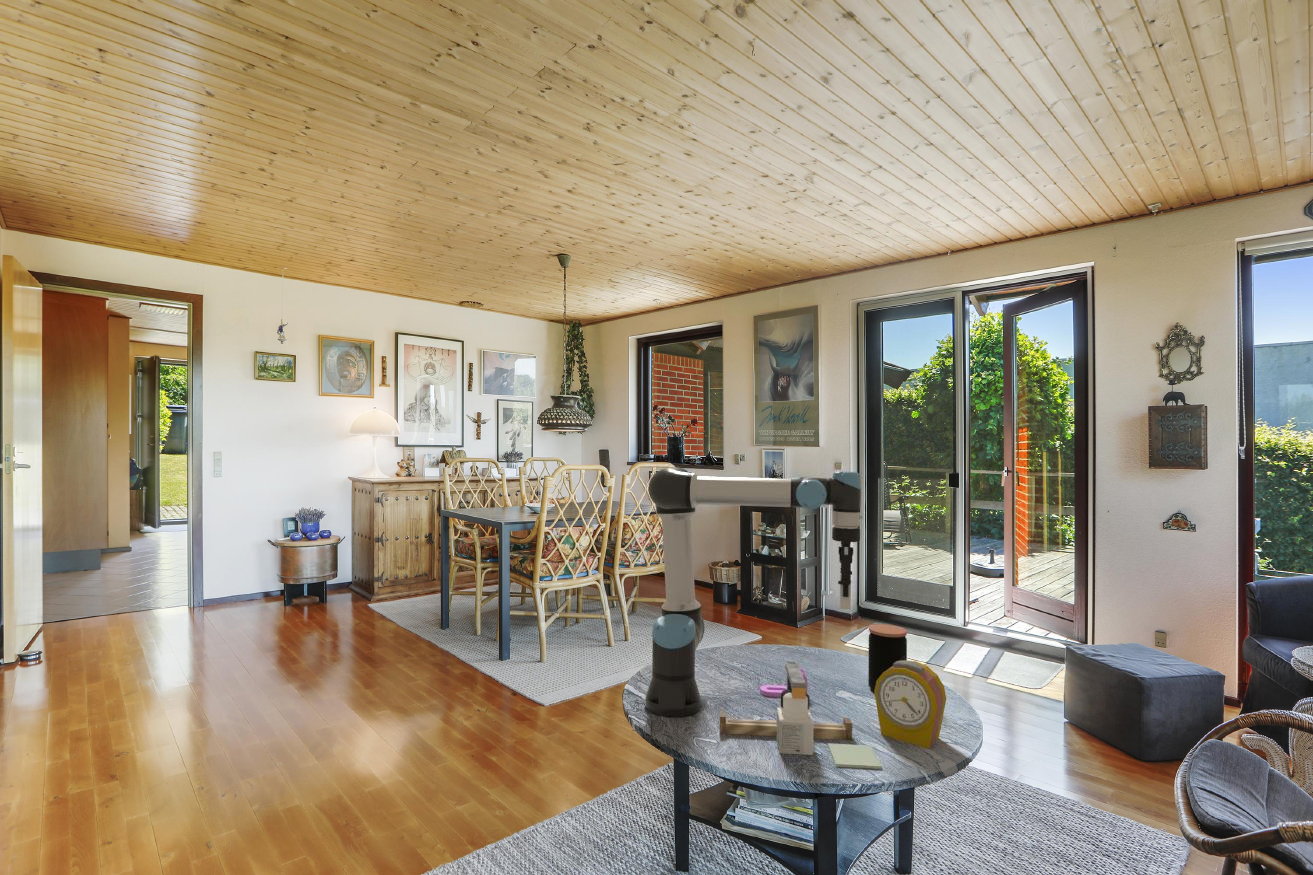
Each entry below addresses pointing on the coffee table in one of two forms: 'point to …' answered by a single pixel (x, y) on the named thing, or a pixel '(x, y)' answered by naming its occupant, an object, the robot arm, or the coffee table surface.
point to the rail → (770, 728)
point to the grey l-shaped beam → (795, 680)
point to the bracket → (777, 688)
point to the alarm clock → (910, 703)
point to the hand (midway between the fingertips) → (845, 603)
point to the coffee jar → (885, 649)
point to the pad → (854, 756)
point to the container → (794, 725)
